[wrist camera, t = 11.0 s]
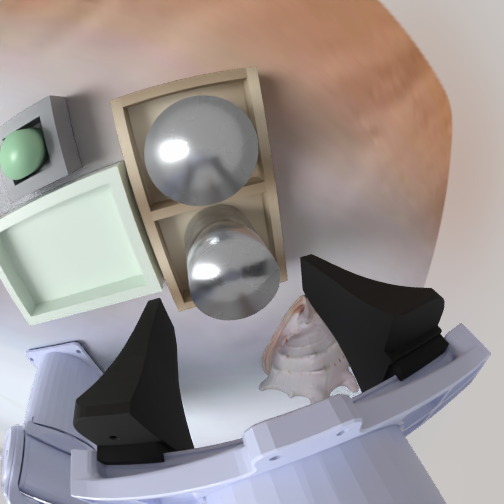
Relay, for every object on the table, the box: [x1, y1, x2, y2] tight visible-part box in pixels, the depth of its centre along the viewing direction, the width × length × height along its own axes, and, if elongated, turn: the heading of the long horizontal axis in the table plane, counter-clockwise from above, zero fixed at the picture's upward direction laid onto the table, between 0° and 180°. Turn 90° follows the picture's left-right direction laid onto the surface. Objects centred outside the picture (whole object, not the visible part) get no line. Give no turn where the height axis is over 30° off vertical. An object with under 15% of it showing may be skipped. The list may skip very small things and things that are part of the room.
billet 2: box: [184, 205, 280, 320], centre depth 16 cm, size 5×5×6 cm
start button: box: [0, 127, 49, 180], centre depth 10 cm, size 3×3×2 cm
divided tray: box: [110, 67, 288, 312], centre depth 16 cm, size 14×8×2 cm, turn 10°
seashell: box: [259, 295, 359, 404], centre depth 23 cm, size 10×12×9 cm
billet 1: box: [144, 95, 259, 206], centre depth 12 cm, size 5×5×6 cm
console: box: [0, 96, 82, 204], centre depth 12 cm, size 5×5×2 cm
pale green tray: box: [0, 160, 163, 325], centre depth 15 cm, size 9×13×2 cm
